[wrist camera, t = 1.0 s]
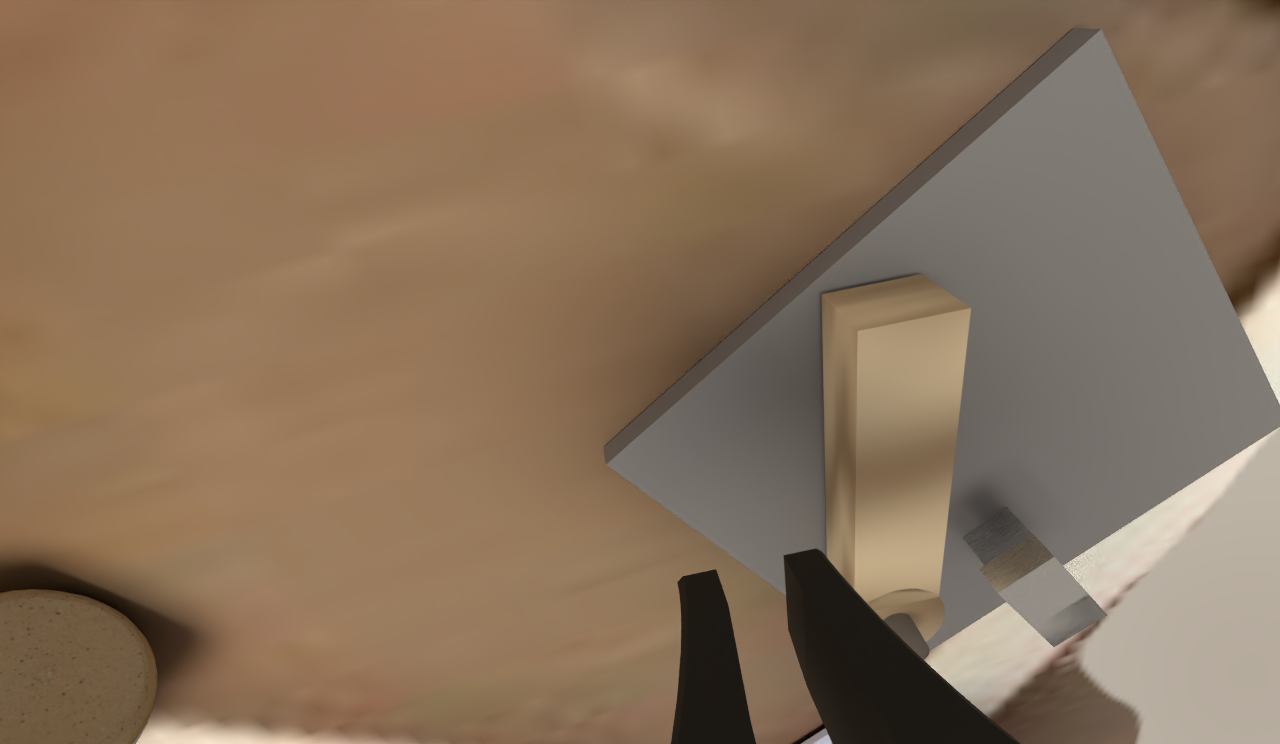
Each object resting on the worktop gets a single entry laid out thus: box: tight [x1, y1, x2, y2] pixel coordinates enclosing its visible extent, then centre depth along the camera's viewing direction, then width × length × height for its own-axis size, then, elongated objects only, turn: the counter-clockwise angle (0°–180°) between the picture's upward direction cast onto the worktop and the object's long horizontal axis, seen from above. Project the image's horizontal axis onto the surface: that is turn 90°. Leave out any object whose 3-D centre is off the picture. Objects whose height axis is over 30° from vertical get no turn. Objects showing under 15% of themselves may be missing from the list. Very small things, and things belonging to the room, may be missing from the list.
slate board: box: [604, 29, 1280, 650], centre depth 23 cm, size 18×18×1 cm
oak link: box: [822, 274, 971, 660], centre depth 20 cm, size 14×4×4 cm, turn 9°
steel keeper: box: [962, 507, 1107, 647], centre depth 22 cm, size 4×2×4 cm, turn 44°
